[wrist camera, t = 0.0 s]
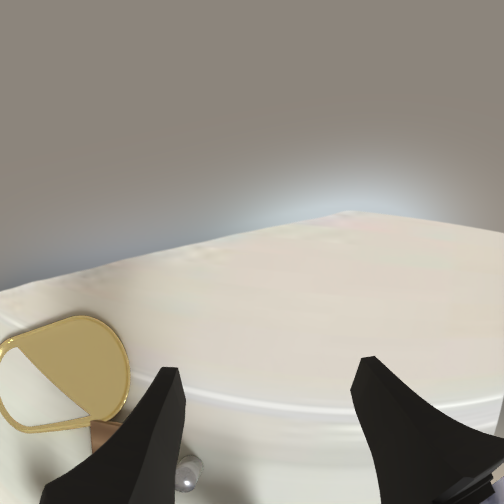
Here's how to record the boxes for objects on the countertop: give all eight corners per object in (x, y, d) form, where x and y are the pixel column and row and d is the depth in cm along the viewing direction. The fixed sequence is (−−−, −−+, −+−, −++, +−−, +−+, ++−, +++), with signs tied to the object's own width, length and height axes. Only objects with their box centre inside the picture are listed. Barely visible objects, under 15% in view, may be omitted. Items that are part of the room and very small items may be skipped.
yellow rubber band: (149, 413, 36) (146, 414, 35) (8, 434, 30) (3, 434, 28) (116, 304, 44) (113, 301, 42) (-10, 347, 37) (-15, 346, 36)
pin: (204, 475, 32) (196, 493, 25) (181, 474, 32) (169, 490, 25) (202, 456, 34) (194, 470, 27) (179, 454, 34) (167, 468, 26)
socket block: (162, 493, 30) (157, 501, 27) (105, 482, 29) (96, 487, 26) (157, 427, 35) (151, 431, 32) (100, 419, 35) (90, 420, 32)
